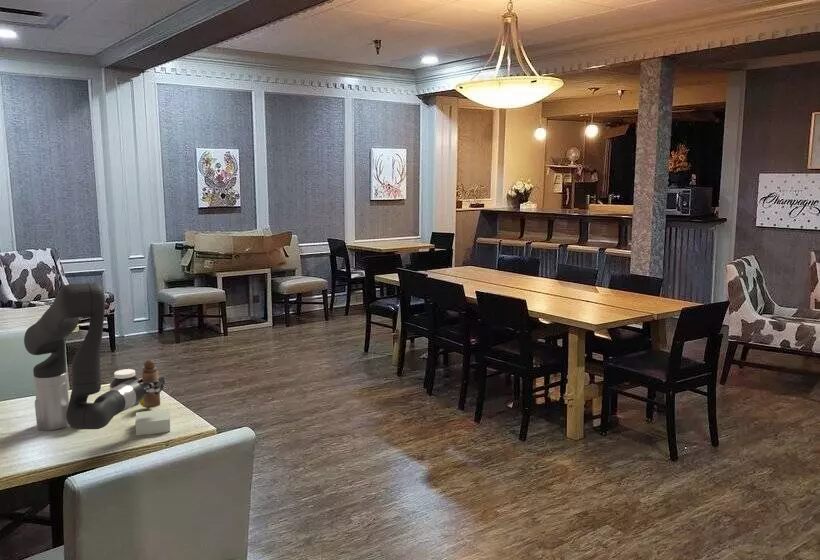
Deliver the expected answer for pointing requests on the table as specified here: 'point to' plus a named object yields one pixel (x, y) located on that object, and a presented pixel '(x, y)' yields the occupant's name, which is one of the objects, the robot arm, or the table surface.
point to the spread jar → (122, 377)
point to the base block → (152, 422)
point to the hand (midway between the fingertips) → (155, 379)
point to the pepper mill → (150, 375)
